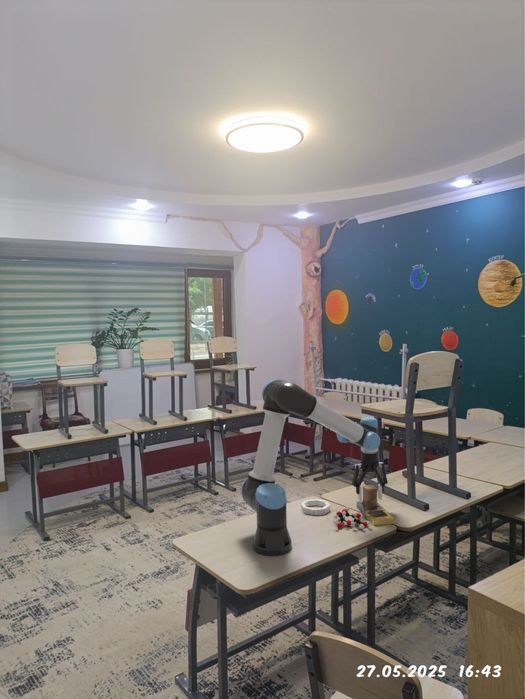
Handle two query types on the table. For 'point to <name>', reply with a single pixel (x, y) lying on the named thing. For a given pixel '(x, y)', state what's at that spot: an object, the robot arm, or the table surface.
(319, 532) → the table surface
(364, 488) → the walnut peg
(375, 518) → the yellow grey tray
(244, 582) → the table surface
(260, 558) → the table surface
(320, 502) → the white ring
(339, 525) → the molecular model
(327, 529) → the table surface
